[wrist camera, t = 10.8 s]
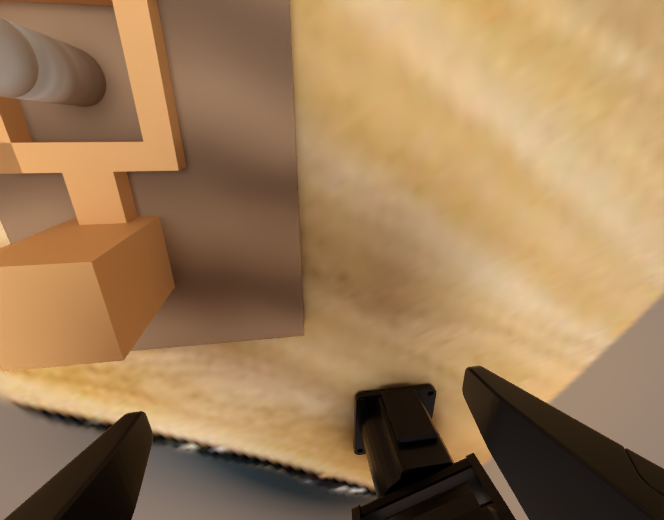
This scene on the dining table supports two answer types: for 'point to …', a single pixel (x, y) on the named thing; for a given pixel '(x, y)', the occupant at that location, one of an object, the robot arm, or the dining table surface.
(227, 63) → the board
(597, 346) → the dining table surface
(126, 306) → the square frame with handle
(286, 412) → the dining table surface
